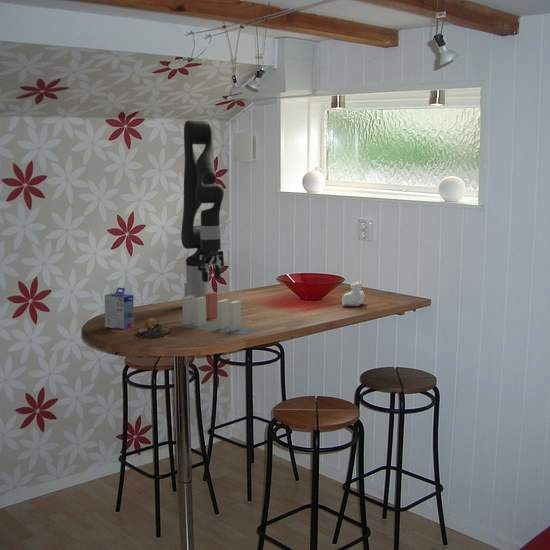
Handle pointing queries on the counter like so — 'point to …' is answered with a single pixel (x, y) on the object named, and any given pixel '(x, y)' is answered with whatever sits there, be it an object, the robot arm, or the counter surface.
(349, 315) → the counter surface
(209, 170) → the robot arm
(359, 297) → the duck figurine
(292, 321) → the counter surface
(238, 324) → the domino
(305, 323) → the counter surface
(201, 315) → the domino
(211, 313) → the red domino
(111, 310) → the ink cartridge box
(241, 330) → the mat
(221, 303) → the domino
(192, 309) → the domino
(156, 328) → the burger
